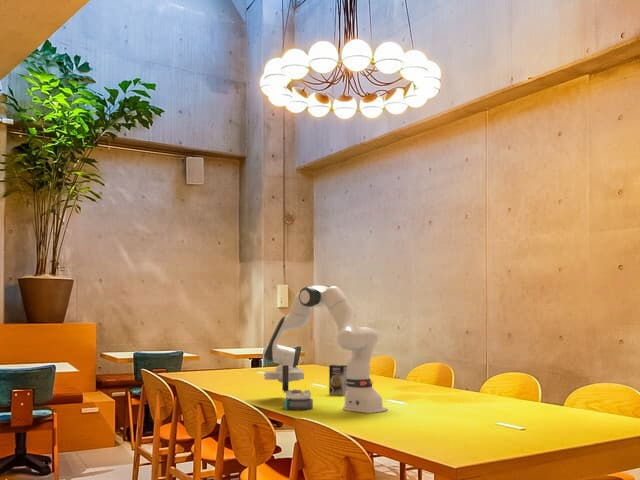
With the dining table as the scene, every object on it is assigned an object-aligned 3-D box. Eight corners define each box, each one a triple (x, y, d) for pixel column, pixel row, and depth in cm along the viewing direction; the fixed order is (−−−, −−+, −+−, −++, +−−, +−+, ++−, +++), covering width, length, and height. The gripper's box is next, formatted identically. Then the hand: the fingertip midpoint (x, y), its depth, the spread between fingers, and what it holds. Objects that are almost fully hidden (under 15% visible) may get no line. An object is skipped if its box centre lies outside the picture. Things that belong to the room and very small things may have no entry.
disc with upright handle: (314, 398, 326) (314, 365, 328) (304, 401, 315) (304, 367, 317) (287, 396, 332) (287, 364, 333) (277, 400, 321) (277, 366, 322)
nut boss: (318, 408, 322) (318, 398, 322) (293, 411, 312) (293, 400, 313) (301, 404, 333) (301, 394, 333) (276, 407, 323) (276, 397, 324)
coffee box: (328, 394, 368) (328, 365, 370) (333, 393, 374) (333, 364, 376) (343, 395, 364) (343, 366, 366) (348, 394, 370) (348, 364, 371)
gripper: (263, 368, 347) (263, 371, 333) (303, 367, 348) (304, 370, 335) (263, 380, 346) (263, 383, 332) (303, 379, 348) (304, 383, 334)
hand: (284, 377), depth 333 cm, fingers closed
